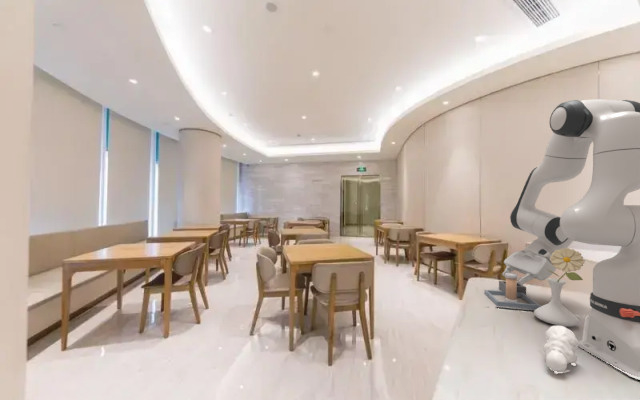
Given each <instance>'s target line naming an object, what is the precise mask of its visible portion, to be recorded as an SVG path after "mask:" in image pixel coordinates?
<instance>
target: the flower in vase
mask: <svg viewBox="0 0 640 400" xmlns="http://www.w3.org/2000/svg"><path fill="white" fill-rule="evenodd" d="M550 260H551V263H552V264H553V267H555V268H556V269H558V270H560V271H561V270H562V272H564V273H563V274H562V275H561V276H559V275H558V273H555V272H551V271H550V272H551V273H553V274H554V275H555V276H557V277H559V278H551V277H548V278H547V279H545V280H546V281H547V282H548V283H549V286H550V291H551V297H550V298H551V299H550V301H549V302H548V303H546V304H543V305H541V307H539V308H537V309H534V310H535V311H534V312H533V314H534V316H535V317H536V318H537V319H538V320H541V321H543V322H545V323H547V324H550V325H553V326H564V327H566V328H567V327H576V326H578V325H579V324H580V321H579V319H578V317H576V315H575V314H574V313H573V312H571V311H570V310H569V309H567V307H565V306H564V305H563V304H562V301H561V300H562V299H561V293H562V288H563V287H564V285H565V284H566V283H567V281H566V280H563V279H562V278H564V276H566V277H567V278H568V280H571V281H584V280H583V278H582V277H581V276H580V275H579V274H578V273H576V272H577V271H579V270H580V269H582V267H583V266H584V264H585V262H586V260H585V259H584V257H583V256H582V253H580V252H579V251H576V250H575V249H573V248H572V249H571V248H569V247H567V248H566V249H563V248H561V249H560V250H555V252H554V253H552V256H551V257H550ZM547 270H548V269H547ZM548 271H549V270H548ZM553 274H552V275H553Z"/></svg>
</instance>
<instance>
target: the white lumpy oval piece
mask: <svg viewBox="0 0 640 400" xmlns="http://www.w3.org/2000/svg"><path fill="white" fill-rule="evenodd" d="M545 336H546V340H547V341H546V343H545V344H544V346H543V352H544V354H546V356H545V361H544V360H542V362H543V363H544V364H545V365H546V366H547V367H549V368H551V369H552V370H554V371H557V372H565V373H568V372H570V371H571V370H570V369H569V370H568V369H567V366H568V365H570V364H569V363H575V364H577V361H578V356H576V355H575V352H576V351H578V348H579V346H578V345H579V342H578V341H579V340H578V339H577V337H576V335H575V333H574V332H573V331H572V330H571V329H569V328H567V327H566V326H558V325H551V326H549V328H548V330H546V331H545ZM549 368H548V369H549ZM551 369H550V370H551ZM552 370H551V371H552Z"/></svg>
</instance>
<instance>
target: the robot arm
mask: <svg viewBox="0 0 640 400" xmlns="http://www.w3.org/2000/svg"><path fill="white" fill-rule="evenodd" d="M549 127H550V129H551V131H552V133H551V136H550V138H549V141H548V143H547V146H546V148H545V152H544V156H543V159H542V161H541V163H539V165H538V166H536V167H535V168H534V167H533V169H532V170H531V172H530V173H529V175H528V177H527V179H526V181H525V183H524V185H523V189H522V191H521V193H520V196H519V198H518V201H517V203H516V205H515V207H514V208H513V209H512V211H511V213H510V214H509V215H510V216H509V219H510V223H511V225H512V227H513V228H515V229H517V230H520V231H523V232H526V233H529V234H530V235H533V236H535V237H537V239H534V240H533V241H531V243H529V244H528V246H527V247H525V248H524V249H522V250H520V251H518V250H517V251H515V252H513V253H512V254H510V255H509V256H508V257H507V258H505V259H504V261H503V264H504V265H505V266H506V267H505V269H504V271H503V272H502V273H501V275H502V276H503V277H505V273H512V272H513V271H515V272H518V273H520V274H522V275H524V276H523V277H521V276H520V277H519V278H517V282H519V283H520V284H522V285H523V286H524V284H526V283H527V282H530V281H533V280H534V279H536V280H538V281H545V280H546V279H547V278H550V277H551V276H552V275H553V273H551V272H554V273H555V272H556V270H557V268H555V267H553V264H552V263H551V260H550V257H551V256H552V253H554V252H555V250H560V249H561V248H563V249H566V248H569V247H570V246H571V245H572V243H574V242H578V243H582V244H587V245H596V246H612V247H620V249H619V251H618V253H616V254H615V255H614V256H612V257H609V258H605V259H603V260H601V261H599V262H597V263H596V264H595V265H594V267H593V269H592V292H590V296H589V306H590V307H591V308H590V311H589V312H588V313H587V314H586V316H585V318H584V324H583V331H582V337H581V338H582V339H581V340H578V342H579V345H578V348H581V349H582V350H583V349H584V352H586V353H588V352H589V354H590V353H591V354H590V355H592V356H593V355H595V356H597V357H598V358H600V359H602V360H604V361H605V362H608V363H609V364H612V365H613V366H615V367H617V368H619V369H621V370H622V371H624V372H627V373H629V374H631V375H634V376H637V377H640V204H639V205H638V204H635V205H634V204H632V205H631V204H624V202H625V199H626V197H627V195H628V194H629V193H633V192H635V191H638V190H640V102H638V101H634V100H631V99H623V100H619V99H603V98H595V99H594V98H592V99H584V100H583V99H582V100H578V99H572V100H568V101H565V102H561V103H559V104H558V105H557V106H556V107H555V108H554V109H553V111H552V113H551V114H550V117H549ZM592 143H593V147H592V177H591V182H590V186H589V187H588V190H587V191H586V193H585V194H584V196H583V197H581V199H580V200H579V201H577V202H576V203H574V204H573V205H570V207H568V208H566V209H565V210H564V211H563V212H562V214H561V216H559V215H556V214H554V213H551V212H547V211H545V210H544V211H543V210H541V209H539V208H537V207H536V203H537V201H538V198H539V196H540V194H541V192H542V189H543V187H545V186H546V185H549V184H551V183H558V182H559V183H560V182H566V181H569V180H572V179H574V178H576V177H578V176H579V175H580V174H582V171H583V169H584V168H585V165H586V162H587V158H588V154H589V151H590V147H591V144H592ZM547 269H548V270H549V271H548V270H547ZM550 271H551V272H550ZM595 356H594V357H595ZM597 357H596V358H597ZM598 358H597V359H598ZM600 359H599V360H600ZM602 360H601V361H602ZM605 362H604V363H605Z"/></svg>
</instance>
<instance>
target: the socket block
mask: <svg viewBox="0 0 640 400" xmlns="http://www.w3.org/2000/svg"><path fill="white" fill-rule="evenodd" d="M498 290H499V291H506V280H498ZM517 292H518V293H524V294H525V295H527V287H526V286H525V285H524V284H523V285H522V284H520V283H519V282H518V281H517Z"/></svg>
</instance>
